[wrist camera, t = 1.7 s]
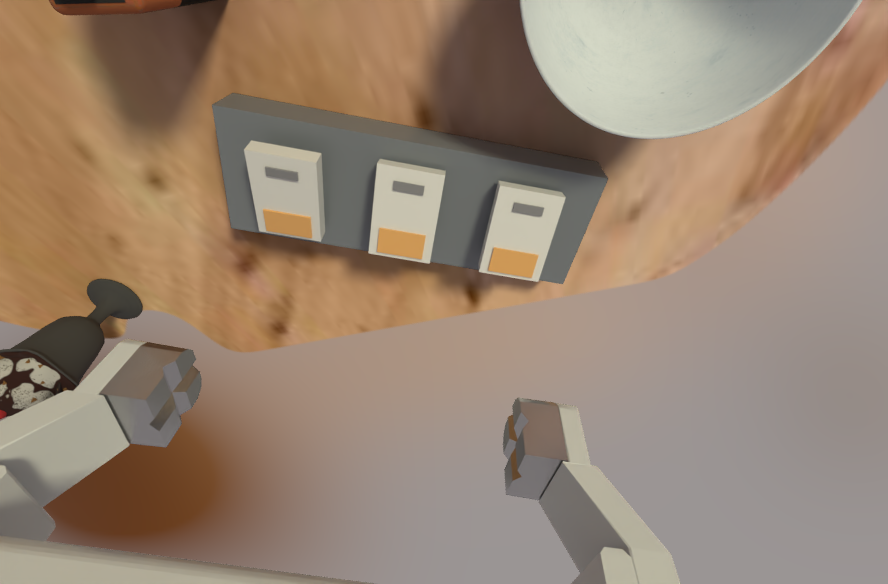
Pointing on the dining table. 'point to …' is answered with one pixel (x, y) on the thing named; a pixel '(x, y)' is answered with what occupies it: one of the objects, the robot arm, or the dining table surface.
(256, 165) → the rocker
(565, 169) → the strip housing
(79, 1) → the battery
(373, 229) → the rocker
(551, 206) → the block
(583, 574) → the robot arm
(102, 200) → the dining table surface
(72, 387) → the sundae
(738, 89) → the chinaware
